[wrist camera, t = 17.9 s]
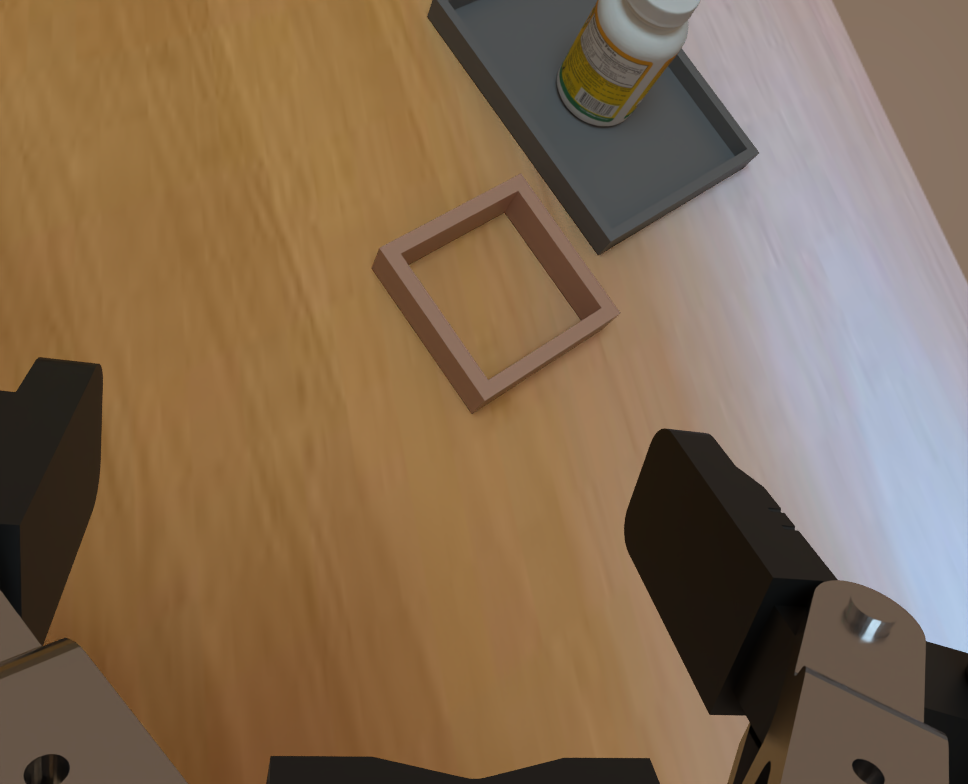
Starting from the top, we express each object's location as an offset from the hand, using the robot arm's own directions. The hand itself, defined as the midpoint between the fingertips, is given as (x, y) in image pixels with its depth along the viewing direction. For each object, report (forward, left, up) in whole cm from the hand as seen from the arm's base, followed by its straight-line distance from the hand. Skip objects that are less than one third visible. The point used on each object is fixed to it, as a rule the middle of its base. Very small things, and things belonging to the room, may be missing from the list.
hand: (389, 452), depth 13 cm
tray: (-15, +32, -31) cm, 47 cm away
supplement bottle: (-15, +32, -30) cm, 47 cm away
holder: (-7, +18, -31) cm, 36 cm away
